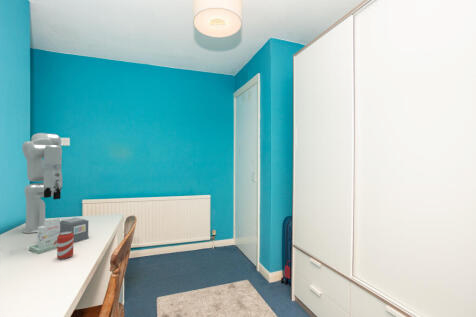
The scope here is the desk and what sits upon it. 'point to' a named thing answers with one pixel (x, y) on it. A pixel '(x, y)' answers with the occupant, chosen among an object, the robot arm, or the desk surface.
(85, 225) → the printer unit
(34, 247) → the tray
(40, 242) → the ink cartridge box
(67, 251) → the beverage can
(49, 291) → the desk surface
